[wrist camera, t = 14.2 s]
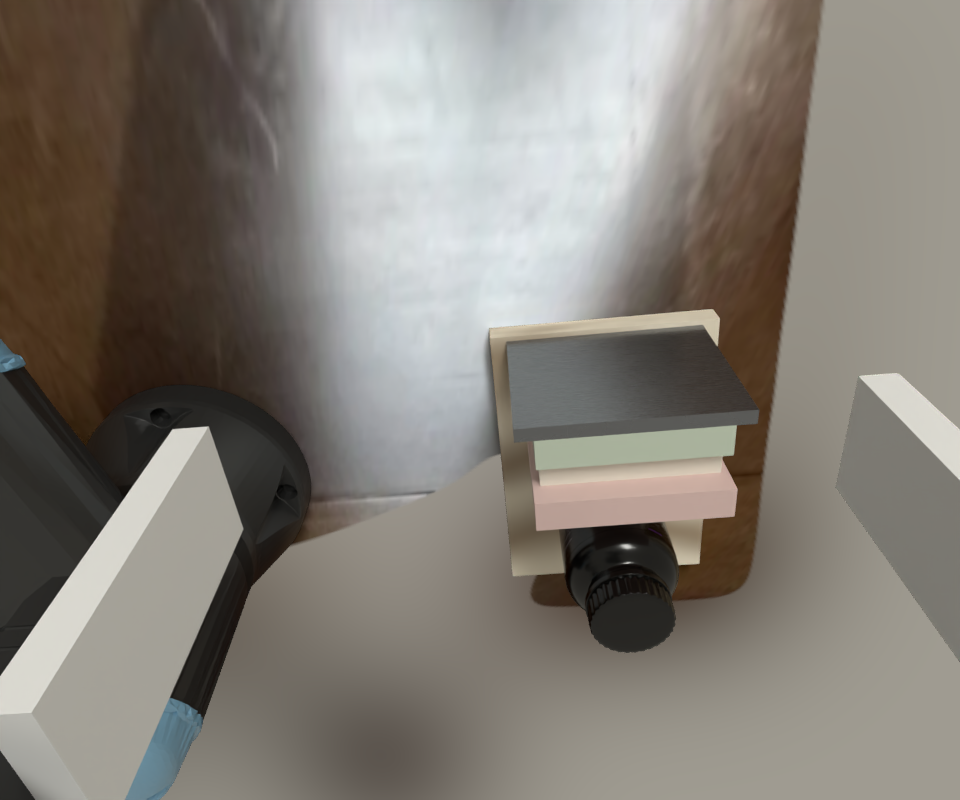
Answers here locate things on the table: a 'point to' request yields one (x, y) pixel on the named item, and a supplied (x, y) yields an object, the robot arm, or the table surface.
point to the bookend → (623, 384)
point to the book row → (632, 478)
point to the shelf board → (526, 544)
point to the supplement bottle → (623, 582)
